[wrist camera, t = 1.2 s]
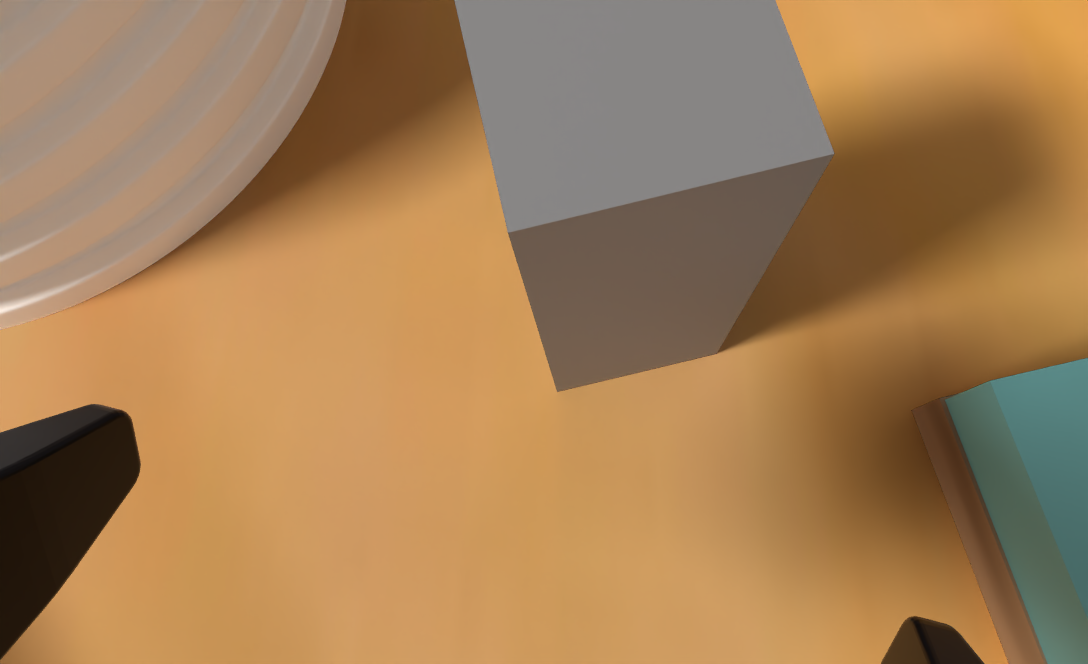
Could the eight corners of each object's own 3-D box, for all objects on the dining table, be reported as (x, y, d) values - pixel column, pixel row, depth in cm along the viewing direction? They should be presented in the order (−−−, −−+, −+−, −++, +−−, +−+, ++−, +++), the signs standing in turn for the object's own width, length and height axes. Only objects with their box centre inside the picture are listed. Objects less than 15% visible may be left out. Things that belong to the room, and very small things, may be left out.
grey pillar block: (557, 391, 22) (507, 232, 11) (522, 245, 24) (447, -31, 12) (716, 353, 22) (834, 153, 11) (671, 208, 24) (735, -103, 12)
